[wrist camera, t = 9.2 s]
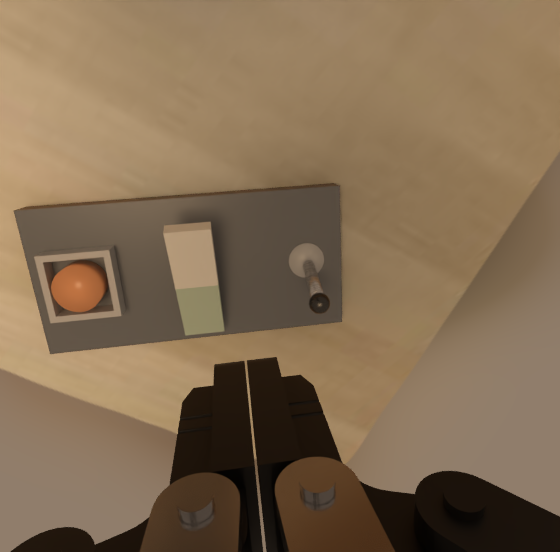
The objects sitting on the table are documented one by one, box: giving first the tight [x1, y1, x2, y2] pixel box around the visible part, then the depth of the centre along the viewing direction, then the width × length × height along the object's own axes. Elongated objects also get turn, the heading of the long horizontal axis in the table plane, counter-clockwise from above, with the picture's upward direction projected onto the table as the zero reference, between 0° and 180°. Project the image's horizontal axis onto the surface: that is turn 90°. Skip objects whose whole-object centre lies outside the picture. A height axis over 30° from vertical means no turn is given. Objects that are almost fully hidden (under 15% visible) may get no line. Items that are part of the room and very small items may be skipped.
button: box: [51, 260, 108, 312], centre depth 33 cm, size 4×4×2 cm
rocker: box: [163, 222, 224, 336], centre depth 32 cm, size 10×3×1 cm, turn 4°
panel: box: [14, 183, 342, 354], centre depth 35 cm, size 12×25×4 cm, turn 94°
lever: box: [303, 260, 330, 314], centre depth 33 cm, size 2×2×6 cm
